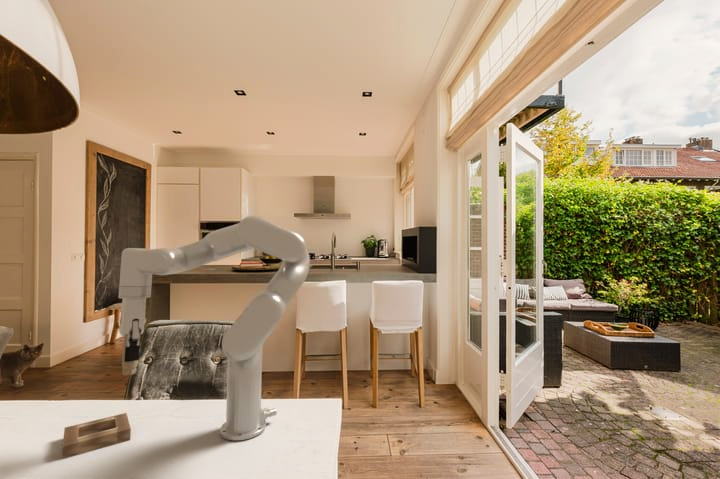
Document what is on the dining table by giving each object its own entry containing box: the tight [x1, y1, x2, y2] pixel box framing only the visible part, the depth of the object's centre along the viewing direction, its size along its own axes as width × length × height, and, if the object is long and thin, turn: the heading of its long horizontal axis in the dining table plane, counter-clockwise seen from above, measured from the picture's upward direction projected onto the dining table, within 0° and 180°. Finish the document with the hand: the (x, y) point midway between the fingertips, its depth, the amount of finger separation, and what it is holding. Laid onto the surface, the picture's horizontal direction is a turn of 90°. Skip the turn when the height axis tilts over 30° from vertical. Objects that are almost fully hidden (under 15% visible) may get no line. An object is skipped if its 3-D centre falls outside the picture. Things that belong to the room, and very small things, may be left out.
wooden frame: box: [61, 412, 132, 460], centre depth 92 cm, size 14×12×3 cm
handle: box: [119, 317, 147, 377], centre depth 93 cm, size 5×6×15 cm
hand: (130, 358), depth 93 cm, fingers closed on handle, 4 cm apart
